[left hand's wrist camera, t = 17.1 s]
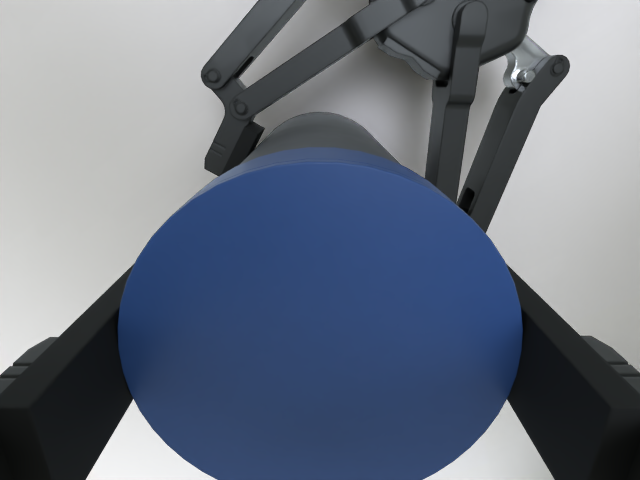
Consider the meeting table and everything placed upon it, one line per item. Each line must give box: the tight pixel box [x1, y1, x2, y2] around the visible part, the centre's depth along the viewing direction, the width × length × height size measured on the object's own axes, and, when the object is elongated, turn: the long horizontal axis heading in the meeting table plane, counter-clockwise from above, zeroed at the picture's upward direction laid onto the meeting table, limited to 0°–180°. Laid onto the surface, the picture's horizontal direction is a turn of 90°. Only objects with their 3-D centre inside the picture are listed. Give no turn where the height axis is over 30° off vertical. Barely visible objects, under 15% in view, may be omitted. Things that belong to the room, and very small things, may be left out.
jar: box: [240, 112, 400, 165], centre depth 20 cm, size 10×10×20 cm
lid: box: [118, 147, 523, 480], centre depth 11 cm, size 10×10×2 cm
